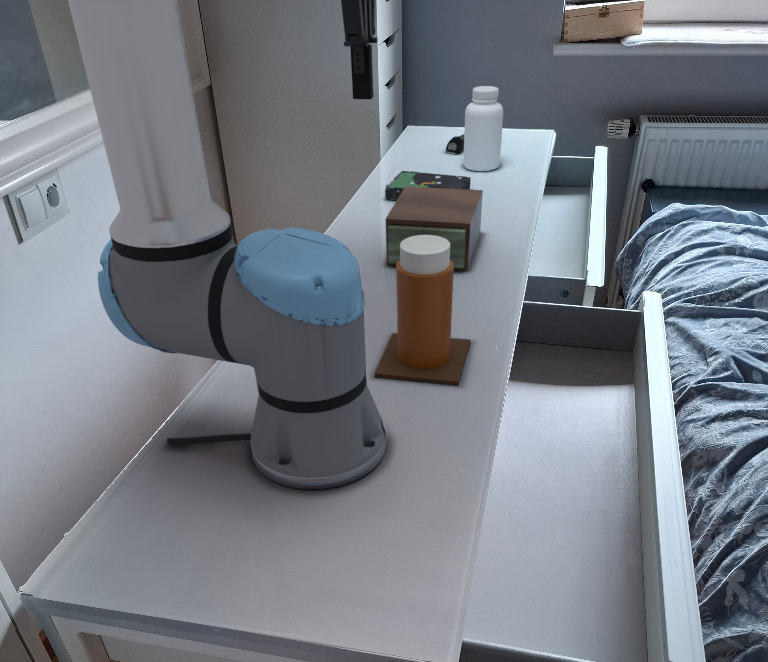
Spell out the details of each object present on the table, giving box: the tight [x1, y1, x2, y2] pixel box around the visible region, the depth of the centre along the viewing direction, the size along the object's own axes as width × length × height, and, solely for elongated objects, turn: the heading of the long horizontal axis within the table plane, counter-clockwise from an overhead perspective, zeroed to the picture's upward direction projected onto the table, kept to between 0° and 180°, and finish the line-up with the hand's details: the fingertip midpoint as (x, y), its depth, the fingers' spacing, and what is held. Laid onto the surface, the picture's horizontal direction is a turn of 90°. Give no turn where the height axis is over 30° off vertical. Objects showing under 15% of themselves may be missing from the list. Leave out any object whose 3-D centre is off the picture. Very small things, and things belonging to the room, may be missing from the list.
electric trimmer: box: [445, 133, 464, 155], centre depth 167 cm, size 4×16×3 cm, turn 143°
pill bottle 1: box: [395, 235, 454, 369], centre depth 91 cm, size 7×7×15 cm
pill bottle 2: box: [462, 85, 504, 172], centre depth 151 cm, size 8×8×15 cm
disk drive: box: [384, 170, 471, 201], centre depth 143 cm, size 10×3×15 cm
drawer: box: [388, 224, 466, 268], centre depth 118 cm, size 19×12×6 cm, turn 167°
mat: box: [374, 332, 471, 386], centre depth 96 cm, size 11×11×1 cm
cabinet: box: [385, 187, 484, 271], centre depth 121 cm, size 16×14×8 cm
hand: (363, 97), depth 104 cm, fingers closed
